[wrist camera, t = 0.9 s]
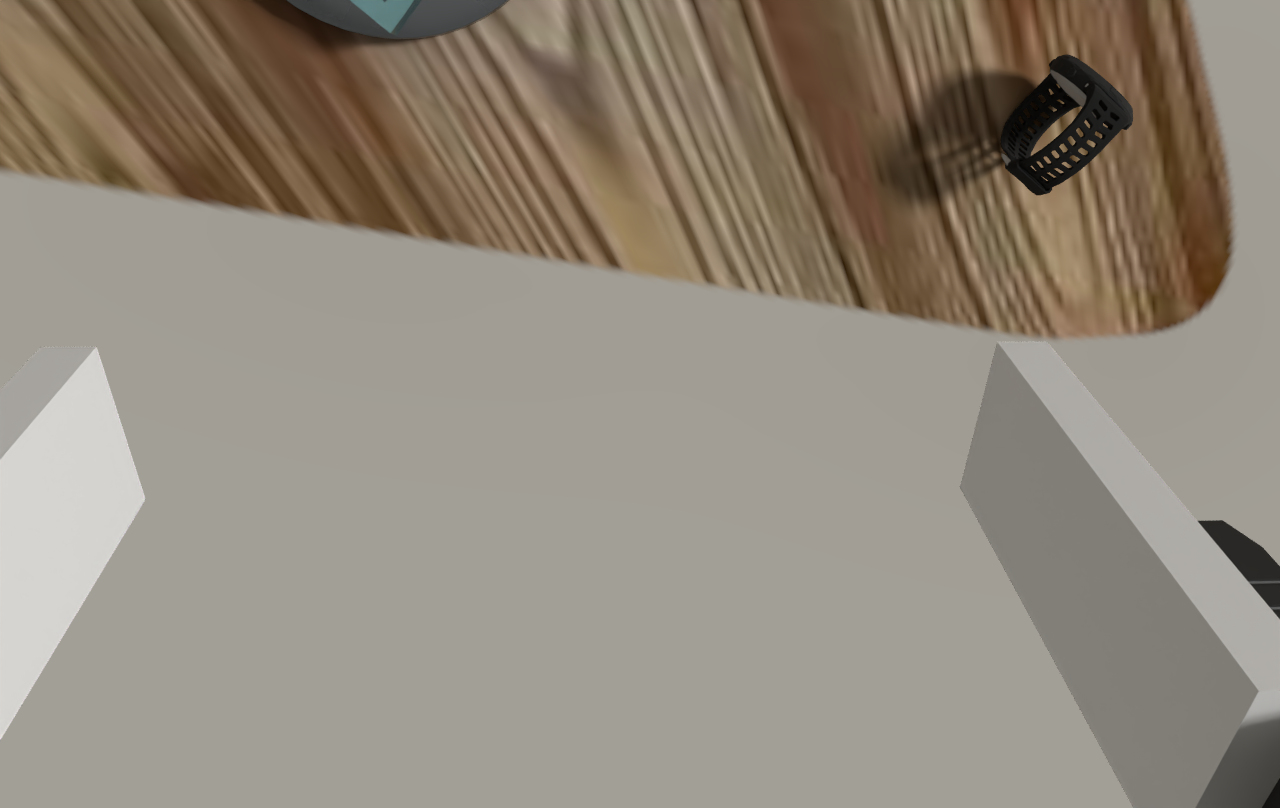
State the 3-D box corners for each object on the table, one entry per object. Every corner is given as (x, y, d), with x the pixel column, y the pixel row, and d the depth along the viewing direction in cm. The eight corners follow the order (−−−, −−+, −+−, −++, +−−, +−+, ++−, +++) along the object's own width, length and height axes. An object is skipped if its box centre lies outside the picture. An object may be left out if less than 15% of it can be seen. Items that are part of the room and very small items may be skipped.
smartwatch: (1096, 130, 40) (1173, 136, 35) (985, 195, 40) (1046, 210, 35) (1060, 37, 38) (1134, 31, 34) (945, 106, 39) (1003, 109, 34)
